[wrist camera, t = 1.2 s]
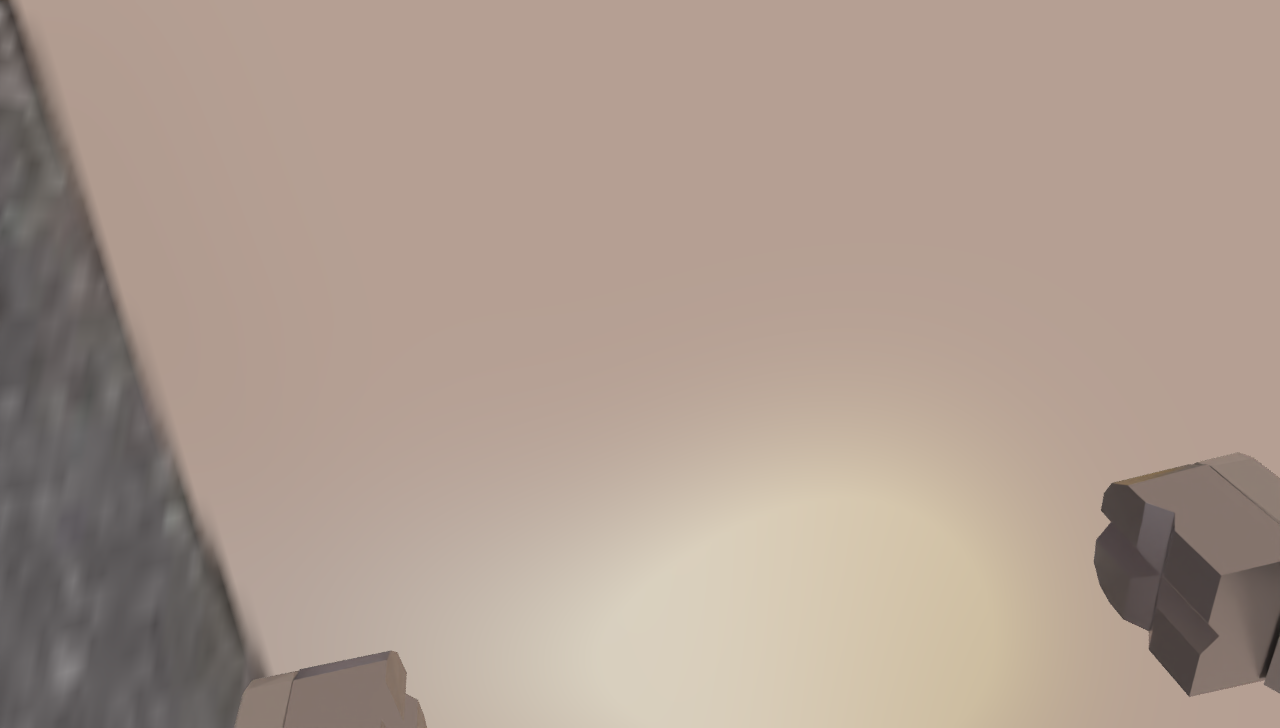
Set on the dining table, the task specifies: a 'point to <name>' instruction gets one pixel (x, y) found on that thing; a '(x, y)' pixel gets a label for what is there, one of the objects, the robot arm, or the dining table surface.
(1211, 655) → the robot arm
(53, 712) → the dining table surface
